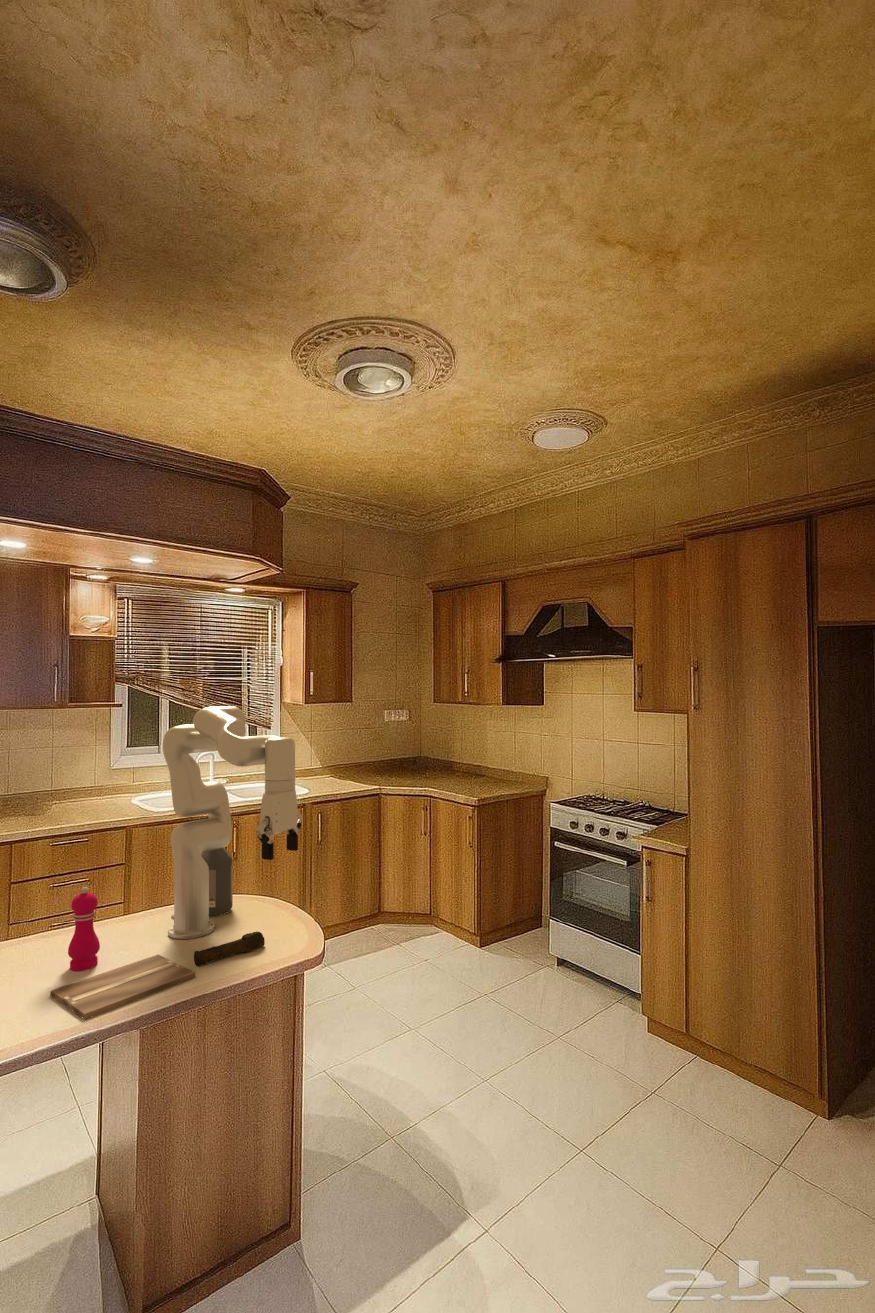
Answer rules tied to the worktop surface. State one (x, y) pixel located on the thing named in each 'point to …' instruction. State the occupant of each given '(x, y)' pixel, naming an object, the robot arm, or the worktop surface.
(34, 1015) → the worktop surface
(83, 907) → the pepper mill
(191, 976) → the board
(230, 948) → the hand tool
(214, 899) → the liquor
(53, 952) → the worktop surface
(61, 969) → the worktop surface
